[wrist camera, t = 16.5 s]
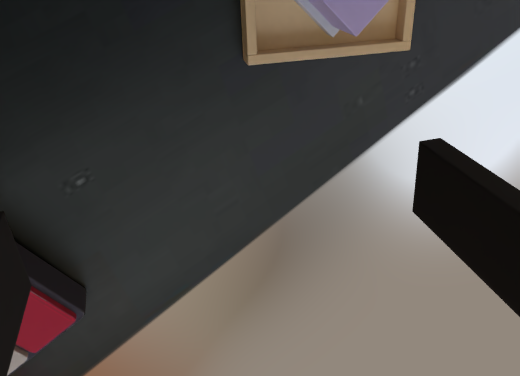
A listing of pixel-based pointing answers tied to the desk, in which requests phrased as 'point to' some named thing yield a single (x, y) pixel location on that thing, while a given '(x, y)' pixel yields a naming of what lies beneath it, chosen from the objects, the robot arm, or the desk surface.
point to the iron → (341, 14)
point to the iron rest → (318, 32)
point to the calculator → (45, 308)
